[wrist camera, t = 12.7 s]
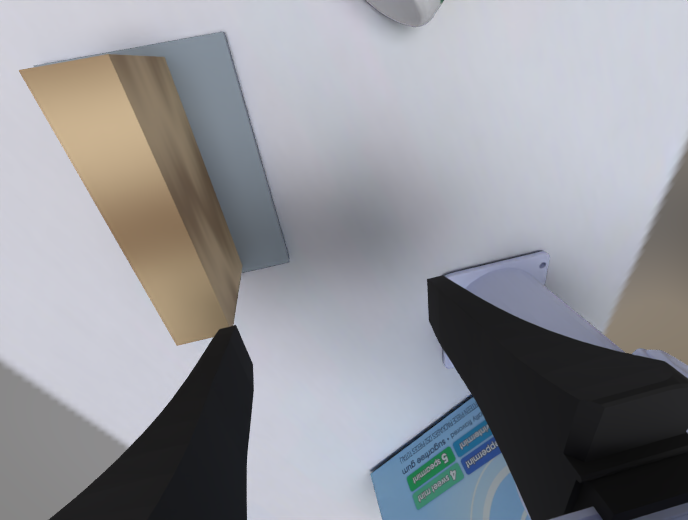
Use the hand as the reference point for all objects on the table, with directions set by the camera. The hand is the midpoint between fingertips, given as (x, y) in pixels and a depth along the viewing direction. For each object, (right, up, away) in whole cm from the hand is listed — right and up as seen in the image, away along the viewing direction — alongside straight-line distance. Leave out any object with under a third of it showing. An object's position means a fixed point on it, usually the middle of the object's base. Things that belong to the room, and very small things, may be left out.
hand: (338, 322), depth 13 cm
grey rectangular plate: (-8, +7, +6) cm, 12 cm away
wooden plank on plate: (-8, +6, +5) cm, 11 cm away
